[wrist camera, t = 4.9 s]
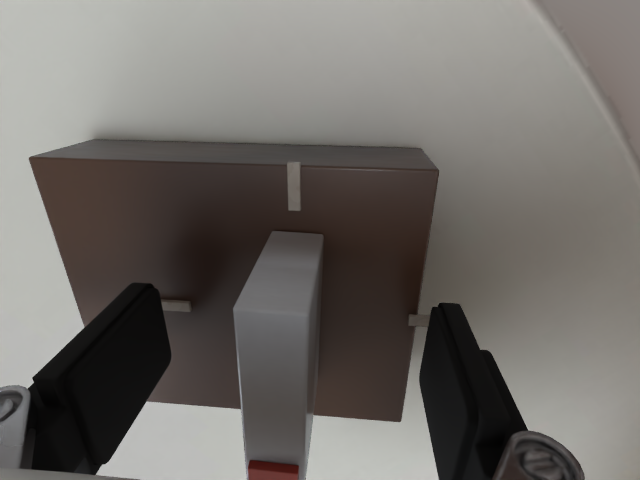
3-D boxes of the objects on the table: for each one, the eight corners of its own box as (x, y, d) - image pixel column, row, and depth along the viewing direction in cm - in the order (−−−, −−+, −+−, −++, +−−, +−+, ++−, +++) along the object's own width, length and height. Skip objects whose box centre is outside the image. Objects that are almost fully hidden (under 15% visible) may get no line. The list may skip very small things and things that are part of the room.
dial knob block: (455, 145, 12) (484, 168, 10) (417, 369, 17) (430, 431, 14) (91, 136, 13) (21, 154, 11) (145, 350, 18) (105, 403, 15)
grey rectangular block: (271, 229, 11) (227, 315, 7) (324, 233, 11) (307, 321, 7) (275, 376, 14) (244, 496, 10) (317, 380, 14) (303, 503, 10)
